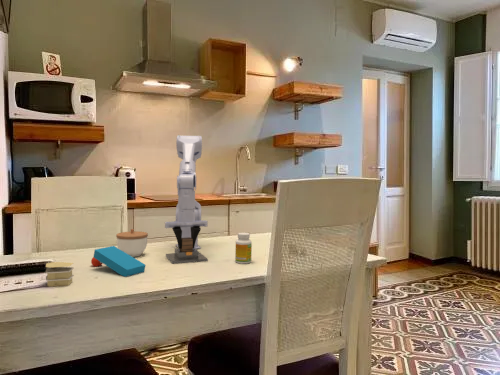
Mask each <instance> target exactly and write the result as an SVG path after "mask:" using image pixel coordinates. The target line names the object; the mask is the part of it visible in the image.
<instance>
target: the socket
mask: <svg viewBox="0 0 500 375" xmlns="http://www.w3.org/2000/svg"><path fill="white" fill-rule="evenodd" d="M165 257H166V258H167V260H168V261H169V262H170V263H171V264H173V265H175V264H186V263H187V264H188V263H199V262H200V263H201V262H202V263H203V262H208V261H209V259H208V257H206V256H205V255H204V254H202V252H200V251H199V250H198V249H195V248H193V251H184V252H181V251H180V249H179V248H178V247H177V248H174V252H172V253H165Z"/></svg>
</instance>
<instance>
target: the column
mask: <svg viewBox="0 0 500 375" xmlns="http://www.w3.org/2000/svg"><path fill="white" fill-rule="evenodd" d="M181 241H182V249H180V251H181V252H184V251H193V239H192V238H190V237H188V238H182V239H181Z"/></svg>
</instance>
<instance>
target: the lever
mask: <svg viewBox="0 0 500 375" xmlns="http://www.w3.org/2000/svg"><path fill="white" fill-rule="evenodd" d="M90 262H91V265H92V267H95V268H98V267H100V266H102V265H105V266H106V267H108V268H109V269H111V270H112V271H114V272H115V273H117V274H118V275H121V277H125V278H126V277H131V276H134V275H137V274H140V273H144V272H145V269H146V264H145V263H143V262H141V261H140V260H138V259H137V258H136V257H132V256H130V255H128V254H127V253H125V252H123V251H122V250H120V249H118V247H116V246H115V245H111V246H107V247H101V248H95V249H94V253H93V257H92V258H91V261H90Z"/></svg>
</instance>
